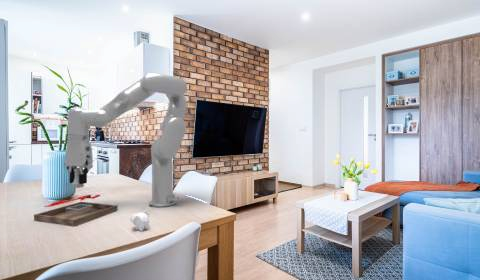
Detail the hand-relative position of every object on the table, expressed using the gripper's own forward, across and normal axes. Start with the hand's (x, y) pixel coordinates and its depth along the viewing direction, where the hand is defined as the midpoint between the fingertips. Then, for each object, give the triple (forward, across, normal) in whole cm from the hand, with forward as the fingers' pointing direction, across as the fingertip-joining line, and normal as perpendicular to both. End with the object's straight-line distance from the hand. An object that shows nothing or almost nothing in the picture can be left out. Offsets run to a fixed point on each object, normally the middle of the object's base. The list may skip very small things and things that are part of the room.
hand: (78, 182), depth 106 cm
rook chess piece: (+2, 0, 0) cm, 2 cm away
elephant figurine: (+13, -35, +6) cm, 38 cm away
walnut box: (+13, -3, +3) cm, 14 cm away
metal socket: (+12, 0, 0) cm, 12 cm away
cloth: (+14, +20, -16) cm, 29 cm away
